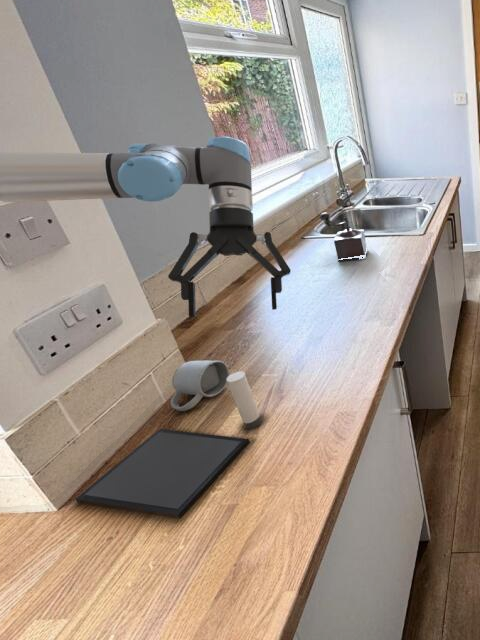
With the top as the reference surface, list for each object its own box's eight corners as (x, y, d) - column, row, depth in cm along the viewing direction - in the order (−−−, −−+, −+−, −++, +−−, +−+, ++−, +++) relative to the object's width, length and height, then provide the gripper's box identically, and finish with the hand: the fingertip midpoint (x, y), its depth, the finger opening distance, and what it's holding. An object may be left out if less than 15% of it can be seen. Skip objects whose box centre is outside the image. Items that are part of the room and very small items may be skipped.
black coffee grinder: (368, 249, 169) (360, 208, 162) (365, 259, 159) (357, 216, 152) (329, 253, 167) (319, 211, 159) (324, 264, 157) (313, 220, 149)
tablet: (77, 503, 68) (74, 498, 67) (161, 432, 81) (159, 428, 81) (180, 518, 64) (177, 514, 64) (249, 442, 78) (248, 438, 78)
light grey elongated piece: (241, 428, 81) (222, 381, 77) (252, 417, 84) (234, 370, 79) (254, 429, 81) (236, 382, 76) (265, 418, 84) (248, 371, 79)
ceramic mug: (203, 378, 96) (191, 352, 93) (234, 380, 95) (223, 354, 92) (162, 411, 86) (148, 384, 83) (196, 415, 85) (182, 386, 82)
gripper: (148, 203, 74) (148, 318, 71) (300, 207, 88) (306, 304, 85) (157, 215, 81) (157, 321, 77) (297, 217, 94) (303, 307, 91)
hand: (235, 312), depth 81 cm, fingers open, 13 cm apart
